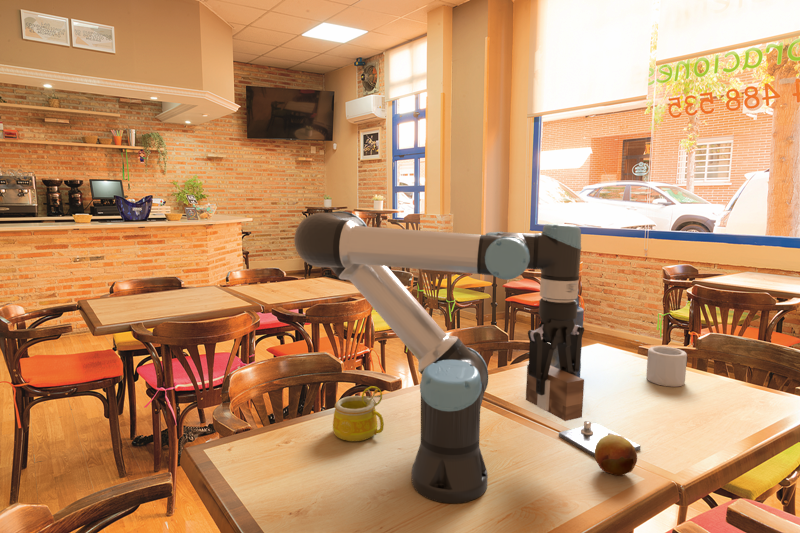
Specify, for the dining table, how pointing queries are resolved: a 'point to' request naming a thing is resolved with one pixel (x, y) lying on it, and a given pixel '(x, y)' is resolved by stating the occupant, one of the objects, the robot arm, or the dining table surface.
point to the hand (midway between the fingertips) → (552, 406)
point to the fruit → (615, 455)
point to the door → (560, 393)
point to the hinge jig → (589, 437)
